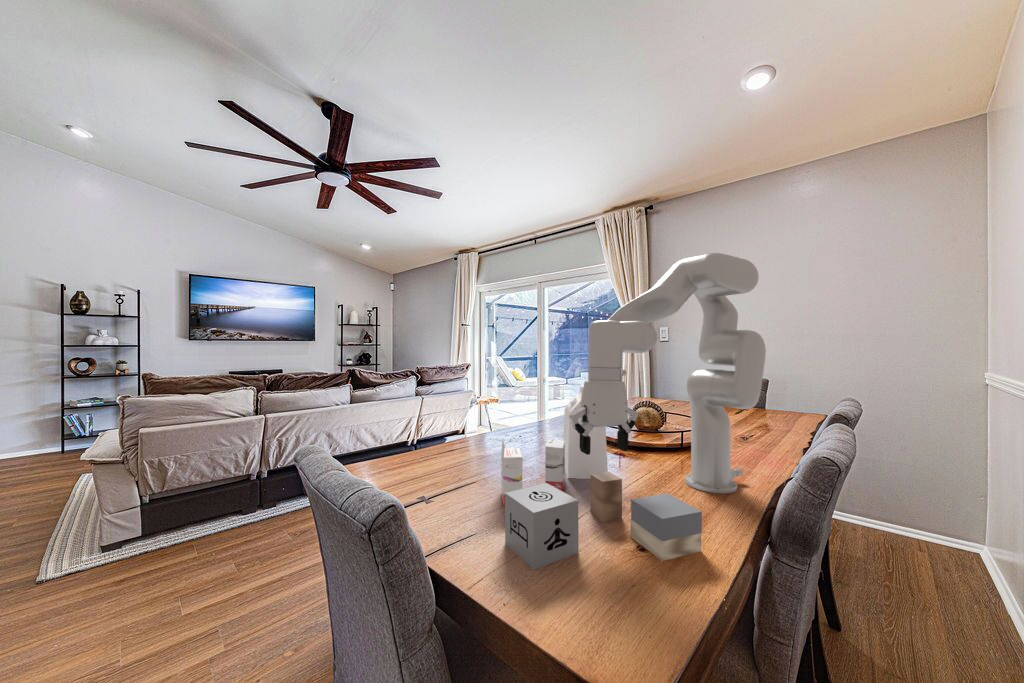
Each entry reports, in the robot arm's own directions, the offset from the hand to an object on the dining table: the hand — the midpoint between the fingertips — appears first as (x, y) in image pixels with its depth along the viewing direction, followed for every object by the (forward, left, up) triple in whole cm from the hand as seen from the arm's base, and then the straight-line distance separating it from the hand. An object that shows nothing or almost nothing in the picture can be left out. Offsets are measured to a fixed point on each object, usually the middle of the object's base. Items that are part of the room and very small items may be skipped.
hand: (604, 451), depth 85 cm
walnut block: (-1, 0, -15) cm, 15 cm away
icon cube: (+19, +7, -15) cm, 25 cm away
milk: (-11, -27, -15) cm, 33 cm away
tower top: (-5, +14, -11) cm, 18 cm away
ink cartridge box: (+17, -16, -15) cm, 27 cm away
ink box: (+2, -20, -15) cm, 25 cm away
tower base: (-5, +14, -15) cm, 21 cm away
